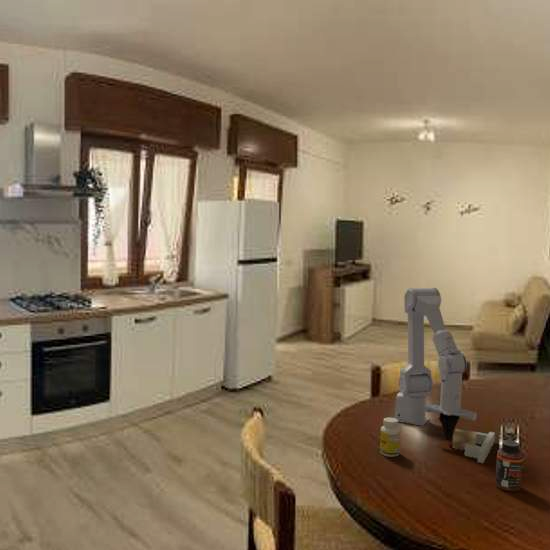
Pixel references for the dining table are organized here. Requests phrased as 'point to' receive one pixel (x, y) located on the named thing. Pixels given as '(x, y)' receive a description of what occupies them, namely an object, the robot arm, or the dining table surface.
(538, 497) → the dining table surface
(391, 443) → the supplement bottle
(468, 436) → the maple block
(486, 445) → the bracket
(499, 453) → the supplement bottle
